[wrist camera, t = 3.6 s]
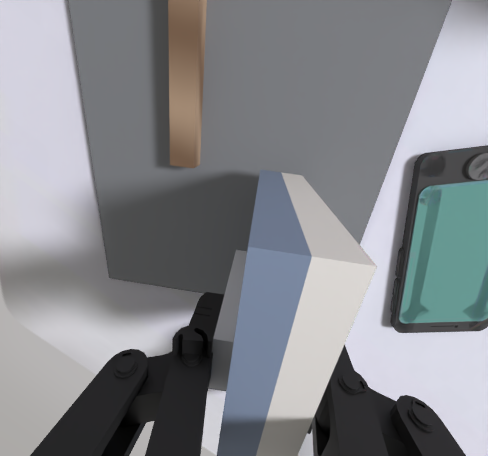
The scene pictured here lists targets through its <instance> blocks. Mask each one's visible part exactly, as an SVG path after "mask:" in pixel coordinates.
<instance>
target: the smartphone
mask: <svg viewBox="0 0 488 456" xmlns="http://www.w3.org/2000/svg"><path fill="white" fill-rule="evenodd" d="M396 276H397V279H396V280H395V282H394V289H393V297H392V303H391V312H392V315H391V324H392V325H393V327H394V328H395V330H396V331H397V332H400V333H419V332H460V331H481V330H483V329H485V328H487V327H488V146H479V147H471V148H463V149H455V150H446V151H438V152H430V153H425V154H423V155H421V156H420V157H419V158H418V159H417V161H416V162H415V166H414V173H413V179H412V186H411V192H410V199H409V205H408V212H407V218H406V225H405V231H404V238H403V244H402V248H400V250H399V254H398V261H397V268H396Z"/></svg>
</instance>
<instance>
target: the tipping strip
mask: <svg viewBox="0 0 488 456" xmlns="http://www.w3.org/2000/svg"><path fill="white" fill-rule="evenodd" d="M206 8H207V0H168V25H169V117H170V165H173V166H180V167H187V168H195V167H197V166H199V165H200V151H201V127H202V103H203V79H204V56H205V32H206Z"/></svg>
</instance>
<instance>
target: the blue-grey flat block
mask: <svg viewBox="0 0 488 456" xmlns="http://www.w3.org/2000/svg"><path fill="white" fill-rule="evenodd" d="M376 268H377V266H376V265H375V263H374V262H373V261H372V260H371V258H370V257H369V256H368V255H367V254H366V252H365V251H364V250H363V249H362V248H361V246H360V245H359V244H358V243H357V241H356V240H355V239H354V238H353V237H352V235H351V234H350V233H349V232H348V231H347V229H346V228H345V227H344V226H343V224H342V223H341V222H340V221H339V220H338V218H337V217H336V216H335V215H334V214H333V212H332V211H331V210H330V209H329V207H328V206H327V205H326V204H325V203H324V201H323V200H322V199H321V198H320V197H319V195H318V194H317V193H316V192H315V190H314V189H313V188H312V187H311V186H310V184H309V183H308V182H307V181H306V180H305V178H304V177H303V176H302V175H296V174H289V173H282V172H274V171H267V170H260V175H259V181H258V188H257V194H256V200H255V206H254V212H253V219H252V225H251V231H250V237H249V243H248V250H247V257H246V263H245V270H244V277H243V283H242V290H241V297H240V304H239V310H238V317H237V324H236V330H235V337H234V344H233V351H232V357H231V364H230V371H229V377H228V384H227V391H226V398H225V404H224V411H223V418H222V424H221V431H220V438H219V444H218V451H217V456H298V453H299V451H300V449H301V446H302V444H303V442H304V439H305V437H306V434H307V432H308V430H309V427H310V425H311V423H312V420H313V418H314V415H315V413H316V411H317V408H318V406H319V404H320V401H321V399H322V396H323V394H324V392H325V389H326V387H327V385H328V382H329V380H330V377H331V375H332V373H333V370H334V368H335V366H336V363H337V361H338V358H339V356H340V354H341V351H342V349H343V347H344V344H345V342H346V339H347V337H348V335H349V332H350V330H351V328H352V325H353V323H354V320H355V318H356V316H357V313H358V311H359V309H360V306H361V304H362V301H363V299H364V297H365V294H366V292H367V290H368V287H369V285H370V282H371V280H372V278H373V275H374V273H375V271H376Z"/></svg>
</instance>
